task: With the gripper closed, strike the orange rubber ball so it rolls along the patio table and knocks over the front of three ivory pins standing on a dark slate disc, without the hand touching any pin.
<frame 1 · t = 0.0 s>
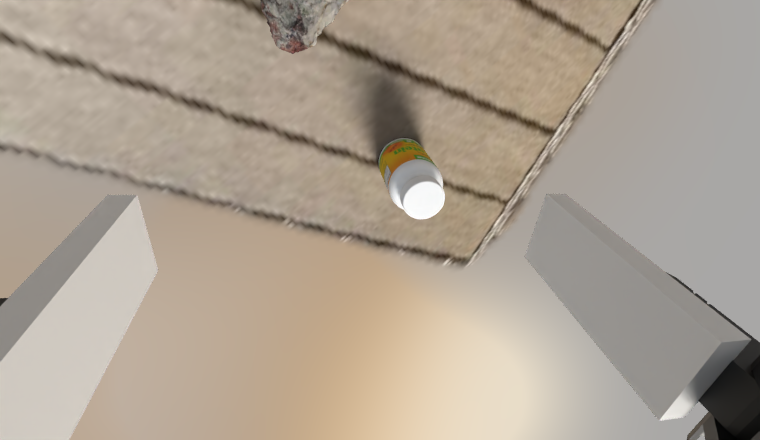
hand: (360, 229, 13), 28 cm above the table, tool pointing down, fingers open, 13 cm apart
supplement bottle: (400, 159, 42), on the table
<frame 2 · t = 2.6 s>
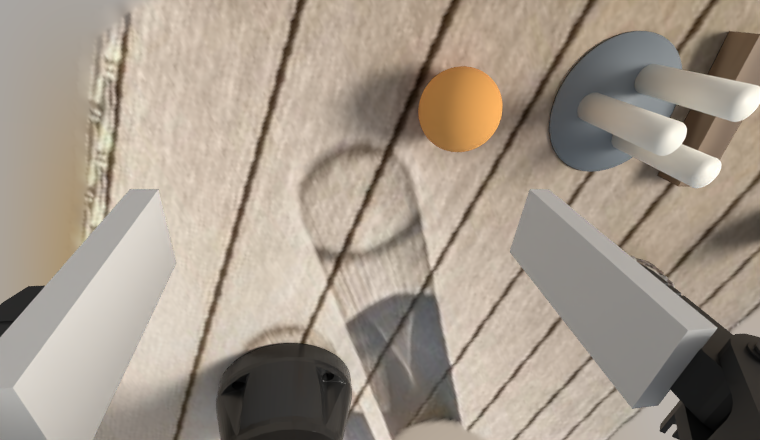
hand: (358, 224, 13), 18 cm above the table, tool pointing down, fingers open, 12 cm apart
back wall: (703, 110, 35), on the table
ball: (459, 110, 27), on the table
pin 1: (646, 78, 32), resting on pin disc
pin 2: (622, 135, 34), resting on pin disc
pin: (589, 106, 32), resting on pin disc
pin disc: (614, 107, 33), on the table
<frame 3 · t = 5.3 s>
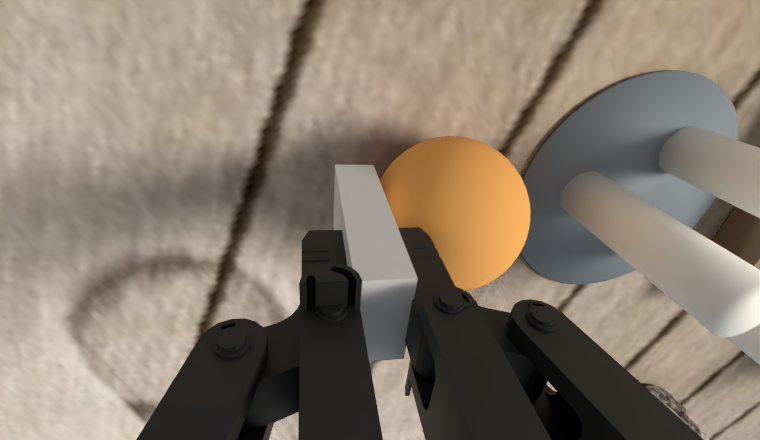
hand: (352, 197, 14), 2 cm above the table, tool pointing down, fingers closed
mineral rock: (621, 406, 32), on the table
ball: (448, 214, 15), on the table
pin 1: (677, 148, 19), resting on pin disc
pin 2: (632, 233, 21), resting on pin disc
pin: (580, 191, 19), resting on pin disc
pin disc: (622, 192, 20), on the table
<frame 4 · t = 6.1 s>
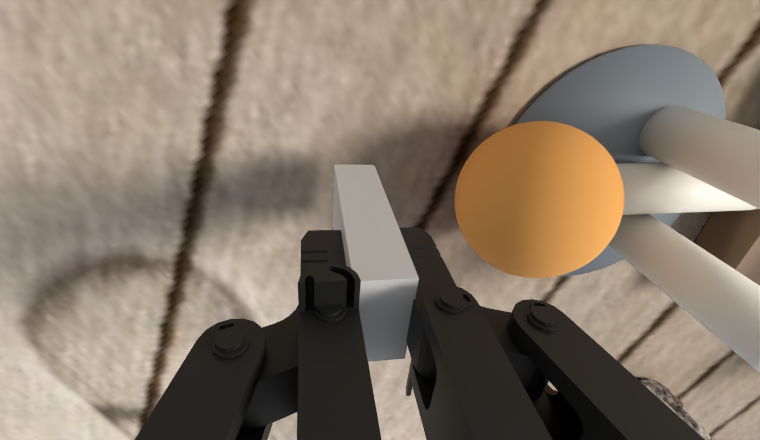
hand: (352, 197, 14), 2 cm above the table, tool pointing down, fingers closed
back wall: (755, 179, 20), on the table
mineral rock: (617, 401, 31), on the table
ball: (532, 200, 15), resting on pin disc
pin 1: (660, 129, 17), resting on pin disc
pin 2: (616, 221, 20), resting on pin disc
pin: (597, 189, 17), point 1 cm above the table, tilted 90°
pin disc: (602, 178, 18), on the table
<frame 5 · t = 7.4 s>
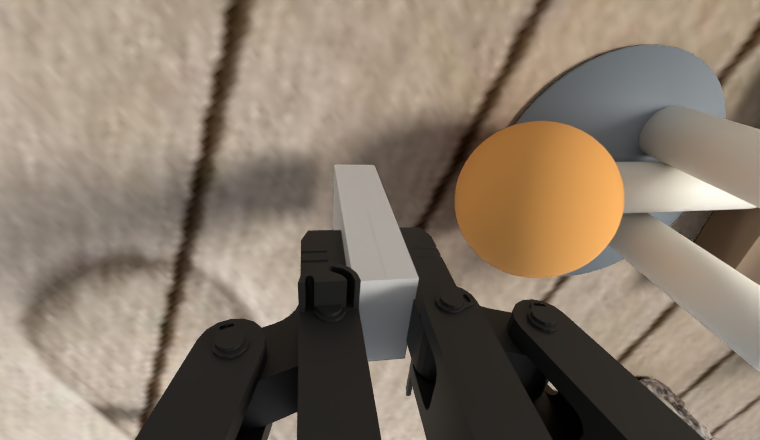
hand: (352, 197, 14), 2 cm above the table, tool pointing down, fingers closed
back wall: (755, 179, 20), on the table
mineral rock: (618, 400, 31), on the table
ball: (532, 200, 15), resting on pin disc
pin 1: (660, 129, 17), resting on pin disc
pin 2: (616, 221, 20), resting on pin disc
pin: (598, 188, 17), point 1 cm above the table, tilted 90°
pin disc: (602, 178, 18), on the table
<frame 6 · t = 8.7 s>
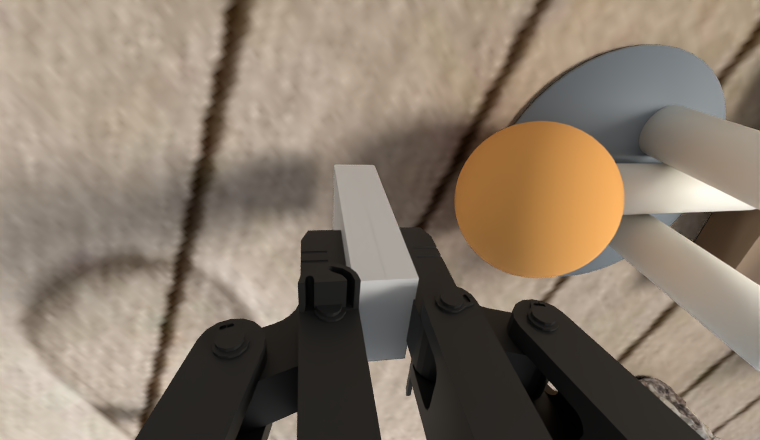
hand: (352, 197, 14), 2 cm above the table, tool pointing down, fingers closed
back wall: (755, 179, 20), on the table
mineral rock: (619, 400, 31), on the table
ball: (532, 200, 15), resting on pin disc
pin 1: (660, 129, 17), resting on pin disc
pin 2: (616, 221, 20), resting on pin disc
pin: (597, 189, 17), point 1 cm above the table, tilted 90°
pin disc: (602, 178, 18), on the table
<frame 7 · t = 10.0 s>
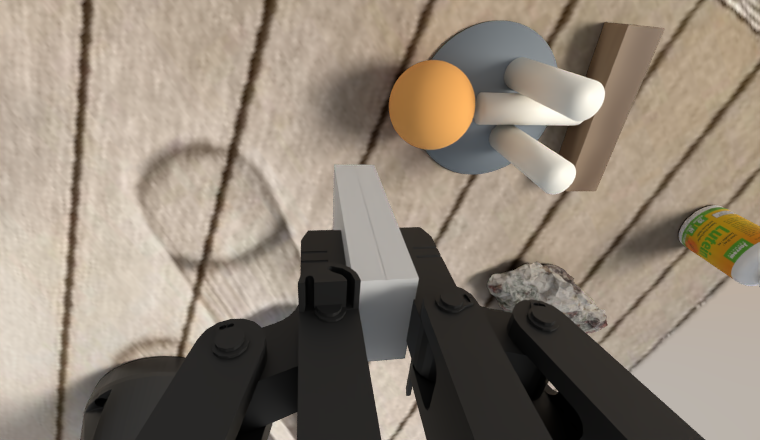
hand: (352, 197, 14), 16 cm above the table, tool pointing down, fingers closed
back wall: (590, 109, 32), on the table
mineral rock: (535, 287, 43), on the table
ball: (431, 106, 26), resting on pin disc
supplement bottle: (698, 224, 42), on the table
pin 1: (517, 73, 29), resting on pin disc
pin 2: (501, 135, 32), resting on pin disc
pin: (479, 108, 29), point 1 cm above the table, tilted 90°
pin disc: (486, 104, 30), on the table
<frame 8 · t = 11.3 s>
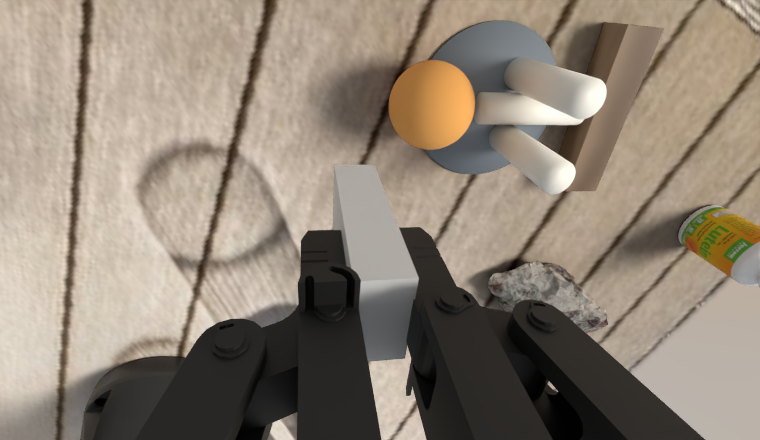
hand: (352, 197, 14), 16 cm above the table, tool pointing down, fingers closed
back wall: (589, 109, 32), on the table
mineral rock: (535, 287, 43), on the table
ball: (431, 106, 26), resting on pin disc
supplement bottle: (697, 223, 42), on the table
pin 1: (517, 73, 29), resting on pin disc
pin 2: (501, 135, 32), resting on pin disc
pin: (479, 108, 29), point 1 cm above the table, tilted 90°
pin disc: (486, 104, 30), on the table
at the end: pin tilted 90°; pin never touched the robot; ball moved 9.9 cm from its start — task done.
